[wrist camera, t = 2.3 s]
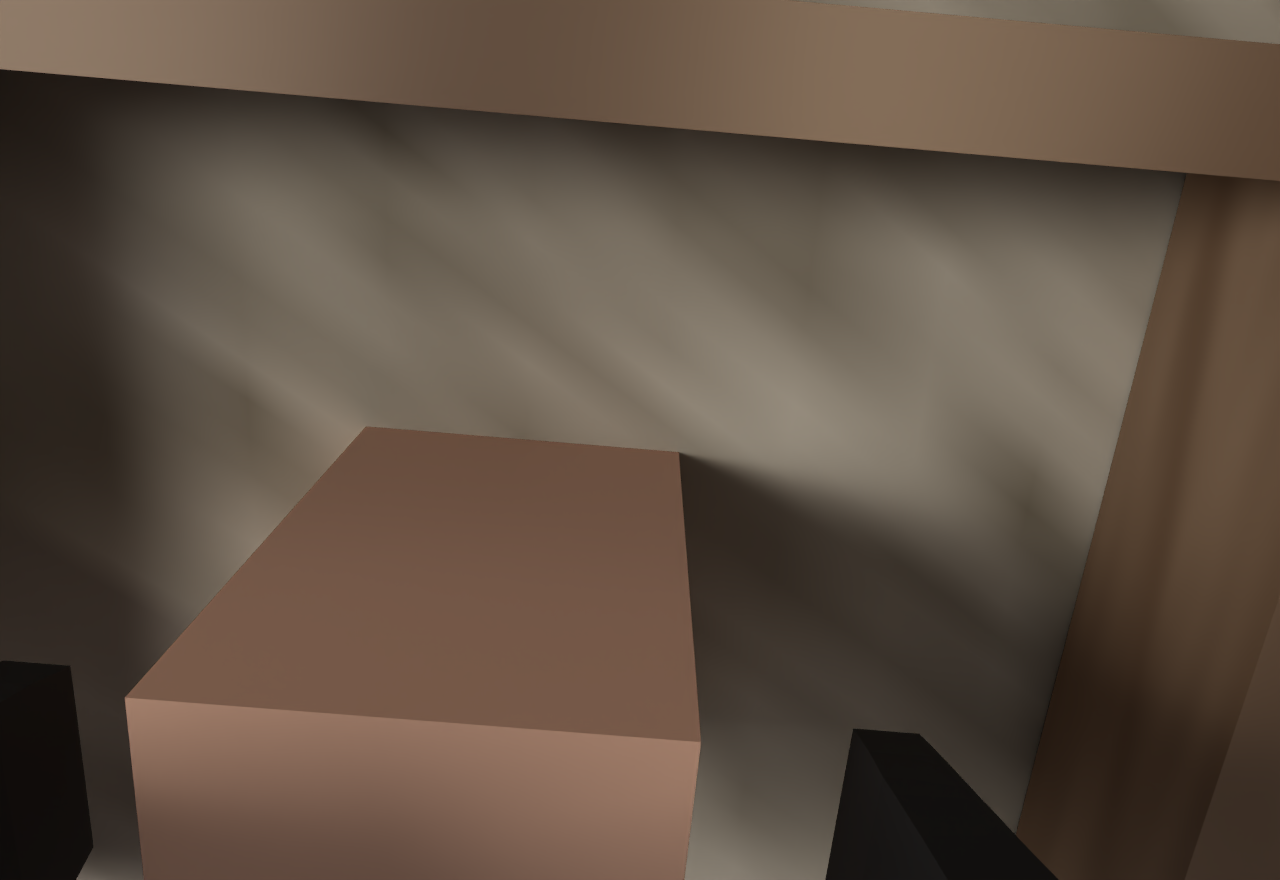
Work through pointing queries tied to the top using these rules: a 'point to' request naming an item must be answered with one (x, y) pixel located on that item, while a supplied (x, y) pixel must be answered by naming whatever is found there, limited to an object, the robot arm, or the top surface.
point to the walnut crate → (950, 122)
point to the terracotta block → (437, 677)
